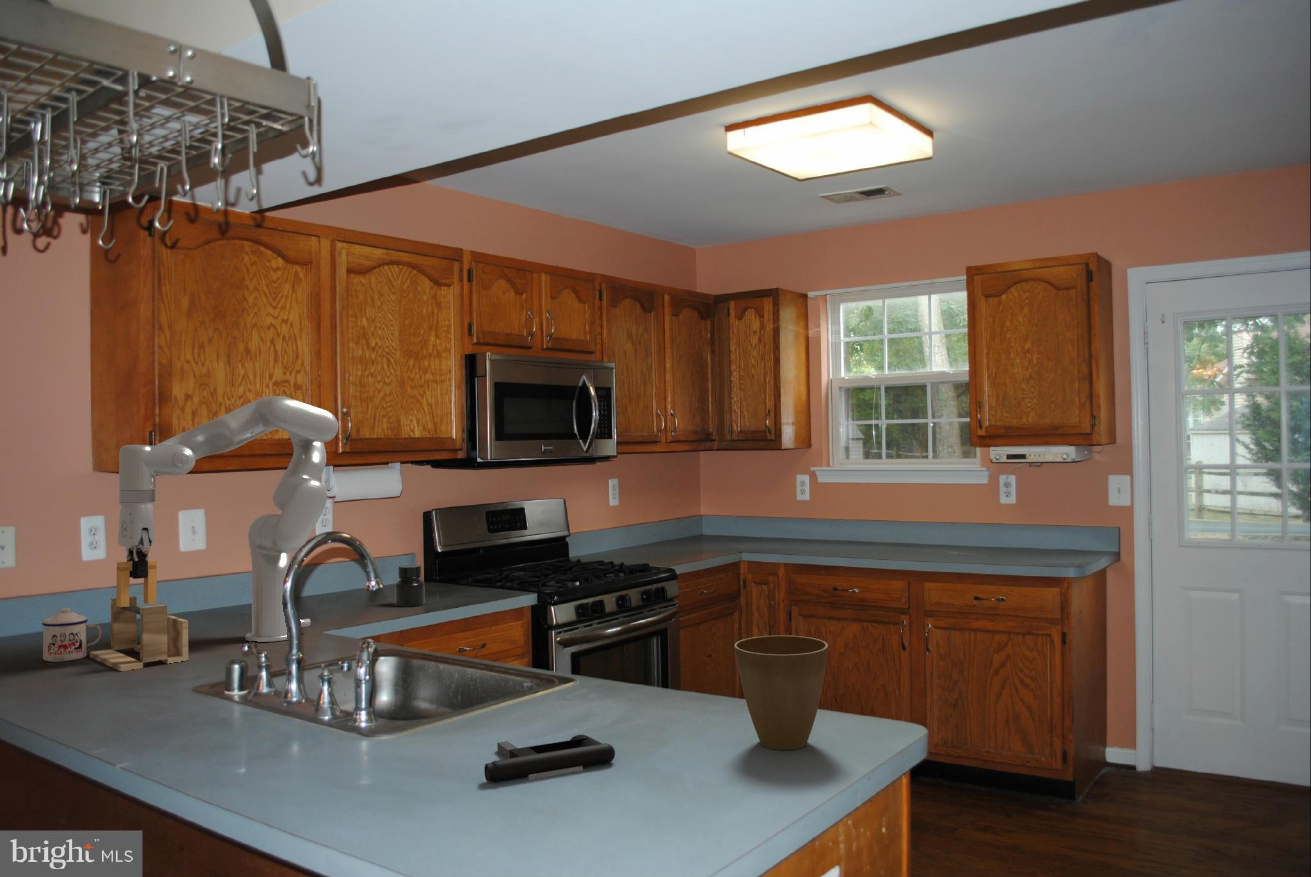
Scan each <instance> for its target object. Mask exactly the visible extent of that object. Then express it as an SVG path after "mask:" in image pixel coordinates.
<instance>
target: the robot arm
mask: <svg viewBox="0 0 1311 877" xmlns="http://www.w3.org/2000/svg"><path fill="white" fill-rule="evenodd" d="M274 430H275V431H276V430H277V431H278V430H282V431H285V432H287V433H288V435H289V437H290V440H291V443H292V447H293V454H292V458H291V460H290V463H288V465H287V466H288V467H287V468H286V470H285V472H284V474H283V475H282V477H281V479H280V480H279V483H278V484H277V485H276V488H275V490H274V493H273V494H272V495H273V496H272V502H273V505H274V507H275V508H276V509H278V510H279V511H280V514H275V513H268V514H267V513H266V514H263V515H260V516H259V517H257V518H255V520H253V521H252V523H251V524H250V526H249V529H248V538H247V539H248V546H249V551H250V558H251V627H252V628H251V631H250V632H247V633H246V634H245V641H248V642H252V641H257V642H256V643H264V642H265V643H268V642H270V643H271V642H280V641H287V640H288V639H287V627H286V623H285V616H284V612H283V605H282V588H283V580H284V578H285V575H286V573H287V569H288V566H289V564H290V561H291V562H292V560H291V559H292V558H291V555H290V554H293V553H295V552H298V551H299V550H300V549H299V548H301V547H302V546H303V545H304V546H305V545H306V543H307V541H308V540H309V538H310V536H311V535H312V532H313V531H314V529H315V527H316V526H317V525H316V524H317V523H318V521H319V519H320V517H321V516H322V513H323V512H324V510H325V507H326V505H327V504H326V503H327V500H328V499H327V497H328V494H327V490H326V487H325V485H323V483H322V482H321V481H320V479H321V477H322V474H323V473H324V471H325V468H326V464H327V453H326V452H327V450H326V446H325V443H327V442H329V441H331V440H333V439H334V438H335V436H337V434H338V431H339V422H338V420H337V418H336V416H335V415H334V414H333V413H332V412H331V411H328V410H326V409H324V408H321V407H318V406H315V405H313V404H310V403H309V404H308V403H306V402H302V401H300V400H297V399H294V398H291V397H288V396H284V395H275V396H266V397H265V396H264V397H261V398H257V399H256V400H253V401H251V402H250V403H247V404H245V405H242V406H241V407H238V408H237V409H235V410H233V411H230V412H227V413H226V414H224V415H222V416H220V417H218V418H215V419H213V420H209V421H208V422H205V423H203V424H200V425H198V426H196V427H194V428H191V429H188V430H186V431H184V432H181V433H179V434H177V435H174V436H172V437H170V438H168V439H166V440H164V441H162V442H159V443H157V444H155V445H154V446H153V445H149V444H126V445H124V446H123V445H122V447H121V448H120V449H119V456H118V458H119V465H118V467H119V469H118V471H119V472H118V476H119V477H118V478H119V479H118V481H119V482H118V484H119V485H118V487H119V488H118V489H119V490H118V491H119V492H118V494H119V496H118V497H119V498H118V505H119V506H120V511H119V518H118V519H119V523H118V536H117V538H118V540H117V541H118V542H117V543H118V545H119V547H123V548H125V549H126V550H125V551H126V556H125V557H126V562H131V561H132V571H130V578H132V579H133V580H138V579H140V580H141V579H144V578H147V577H148V560H149V554H150V553H149V552H150V551H151V547H152V546H153V545H154V542H155V522H154V520H155V519H154V508H153V505H156V504H157V502H156V501H157V475H158V476H169V477H171V476H172V477H180V476H183V475H186V474H188V473H189V472H190V471H192V469H194V466H195V464H196V460H199V459H201V458H203V457H204V458H206V457H207V456H211V455H215V454H222V453H225V452H229V451H231V450H232V451H233V450H235V449H237V448H239V447H242V446H243V445H245V444H247V443H248V442H250V441H253V440H255V439H257V438H258V437H262V436H263V435H265V434H267V433H270V432H271V431H274ZM304 546H303V547H304ZM303 547H302V548H303ZM302 548H301V549H302ZM299 619H300V621H301V628H302V627H303V628H304V627H310V626H311V622H312V621H311V619H310V618H303V619H301V618H299Z"/></svg>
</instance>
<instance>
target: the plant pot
mask: <svg viewBox="0 0 1311 877" xmlns="http://www.w3.org/2000/svg"><path fill="white" fill-rule="evenodd" d="M828 648H829V644H828V643H827V642H826V641H824V640H821V639H819V638H814V637H810V636H809V637H808V636H801V635H800V636H799V635H763V636H762V635H761V636H753V637H748V638H743V639H741V640H738V641H736V643H734V652H735V656H736V657H735V658H736V662H737V668H738V674H739V679H740V684H741V686H742V691H743V696H744V699H745V703H746V706H747V709H748V712H749V715H750V719H751V721H752V724H753V727H754V729H755V732H756V735H757V737H758V740H759V743H760V745H761V746H763V747H765V748H767V749H771V750H778V751H793V750H799V749H802V748H805V747H806V745H807V744H808V742H809V738H810V735H811V733H812V730H813V726H814V724H815V720H816V717H817V712H818V709H819V705H820V700H821V696H822V693H823V691H822V690H823V686H824V681H825V674H826V668H827V659H828Z"/></svg>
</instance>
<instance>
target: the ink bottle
mask: <svg viewBox="0 0 1311 877" xmlns="http://www.w3.org/2000/svg"><path fill="white" fill-rule="evenodd" d="M421 577H422V566H421V564H420V565H419V564H406V565H398V579H399V580H398V581H397V582H396V583H395V586H394V603H395V604H394V605H395V606H396V607H402V608H406V607H418V606H419V607H420V606H423V605H425V599H426V598H425V594H426V591H425V590H426V589H425V588H426V587H425V583H424V581H422V580H421Z"/></svg>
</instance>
